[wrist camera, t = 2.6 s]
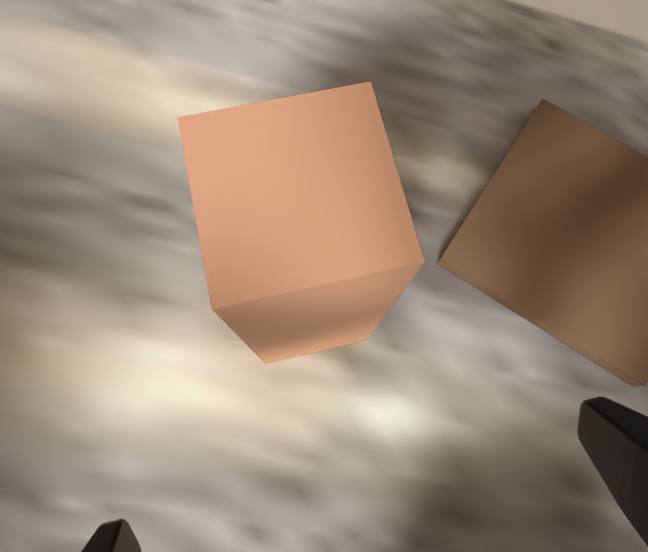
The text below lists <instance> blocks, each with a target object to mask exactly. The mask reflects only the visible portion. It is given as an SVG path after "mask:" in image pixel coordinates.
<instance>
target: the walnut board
mask: <svg viewBox="0 0 648 552" xmlns="http://www.w3.org/2000/svg"><path fill="white" fill-rule="evenodd" d="M437 264H439V265H440V266H442V267H444V268H445V269H447V270H448V271H450V272H452V273H453V274H455V275H456V276H458V277H460V278H461V279H463V280H464V281H466V282H468V283H469V284H471V285H472V286H474V287H476V288H477V289H479V290H480V291H482V292H484V293H485V294H487V295H488V296H490V297H491V298H493V299H495V300H496V301H498V302H499V303H501V304H503V305H504V306H506V307H507V308H509V309H511V310H512V311H514V312H515V313H517V314H519V315H520V316H522V317H523V318H525V319H527V320H528V321H530V322H531V323H533V324H535V325H536V326H538V327H539V328H541V329H543V330H544V331H546V332H547V333H549V334H550V335H552V336H554V337H555V338H557V339H558V340H560V341H562V342H563V343H565V344H566V345H568V346H570V347H571V348H573V349H574V350H576V351H578V352H579V353H581V354H582V355H584V356H586V357H587V358H589V359H590V360H592V361H594V362H595V363H597V364H598V365H600V366H601V367H603V368H605V369H606V370H608V371H609V372H611V373H613V374H614V375H616V376H617V377H619V378H621V379H622V380H624V381H625V382H627V383H629V384H630V385H632V386H645V385H646V383H647V381H648V157H646V156H644V155H642V154H640V153H639V152H637V151H635V150H633V149H631V148H630V147H628V146H626V145H624V144H623V143H621V142H619V141H617V140H615V139H614V138H612V137H610V136H608V135H606V134H605V133H603V132H601V131H599V130H598V129H596V128H594V127H592V126H590V125H589V124H587V123H585V122H583V121H581V120H580V119H578V118H576V117H574V116H573V115H571V114H569V113H567V112H565V111H564V110H562V109H560V108H558V107H556V106H555V105H553V104H551V103H549V102H548V101H546V100H544V99H542V100H541V102H540V103H539V104H538V106H537V107H536V108H535V110H534V112H533V113H532V115H531V116H530V118H529V119H528V121H527V123H526V124H525V126H524V127H523V129H522V130H521V132H520V134H519V135H518V137H517V138H516V140H515V141H514V143H513V145H512V146H511V148H510V149H509V151H508V152H507V154H506V156H505V157H504V159H503V160H502V162H501V163H500V165H499V167H498V168H497V170H496V171H495V173H494V174H493V176H492V178H491V179H490V181H489V182H488V184H487V185H486V187H485V189H484V190H483V192H482V193H481V195H480V196H479V198H478V200H477V201H476V203H475V204H474V206H473V207H472V209H471V211H470V212H469V214H468V215H467V217H466V218H465V220H464V221H463V223H462V225H461V226H460V228H459V229H458V231H457V232H456V234H455V236H454V237H453V239H452V240H451V242H450V243H449V245H448V247H447V248H446V250H445V251H444V253H443V254H442V256H441V258H440V259H439V261H438V262H437Z"/></svg>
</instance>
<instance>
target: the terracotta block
mask: <svg viewBox="0 0 648 552" xmlns="http://www.w3.org/2000/svg"><path fill="white" fill-rule="evenodd" d="M178 122H179V128H180V133H181V139H182V145H183V150H184V156H185V162H186V167H187V173H188V178H189V184H190V190H191V195H192V201H193V207H194V212H195V218H196V223H197V229H198V235H199V240H200V246H201V252H202V257H203V263H204V268H205V274H206V280H207V285H208V291H209V297H210V302H211V308H212V310H213V311H214V312H215V313H216V314H217V315H218V316H219V317H220V318H221V319H222V320H223V321H224V322H225V323H226V324H227V325H228V326H229V327H230V328H231V329H232V330H233V331H234V332H235V333H236V334H237V335H238V336H239V337H240V338H241V339H242V340H243V341H244V342H245V343H246V344H247V346H248V347H249V348H250V349H251V350H252V351H253V352H254V353H255V354H256V355H257V356H258V357H259V358H260V359H261V360H262V361H263V362H264V363H265V364H267V363H271V362H276V361H280V360H284V359H289V358H293V357H297V356H301V355H306V354H310V353H314V352H319V351H323V350H327V349H332V348H336V347H340V346H345V345H349V344H353V343H358V342H362V341H365V340H366V339H367V338H368V336H369V335H370V334H371V332H372V331H373V330H374V329H375V327H376V326H377V325H378V323H379V322H380V321H381V319H382V318H383V317H384V315H385V314H386V313H387V311H388V310H389V309H390V307H391V306H392V305H393V303H394V302H395V301H396V299H397V298H398V297H399V295H400V294H401V293H402V291H403V290H404V289H405V288H406V286H407V285H408V284H409V282H410V281H411V280H412V278H413V277H414V276H415V274H416V273H417V272H418V270H419V269H420V268H421V266H422V265H423V264H424V262H425V261H424V258H423V255H422V251H421V248H420V245H419V241H418V238H417V234H416V231H415V228H414V224H413V221H412V218H411V214H410V211H409V208H408V204H407V201H406V198H405V194H404V191H403V188H402V184H401V181H400V177H399V174H398V171H397V167H396V164H395V161H394V157H393V154H392V151H391V147H390V144H389V141H388V137H387V134H386V130H385V127H384V124H383V120H382V117H381V114H380V110H379V107H378V104H377V100H376V97H375V94H374V90H373V87H372V84H371V81H370V82H364V83H359V84H354V85H348V86H343V87H338V88H332V89H327V90H322V91H316V92H311V93H306V94H300V95H295V96H290V97H284V98H279V99H274V100H268V101H263V102H258V103H252V104H247V105H242V106H236V107H231V108H226V109H220V110H215V111H210V112H204V113H199V114H194V115H188V116H183V117H178Z"/></svg>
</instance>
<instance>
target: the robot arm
mask: <svg viewBox="0 0 648 552" xmlns="http://www.w3.org/2000/svg"><path fill="white" fill-rule="evenodd" d="M578 437H579V440H580V442H581V444H582V446H583V447H584V449H585V451H586V452H587V454H588V455H589V457H590V459H591V460H592V462H593V464H594V465H595V467H596V469H597V470H598V472H599V474H600V475H601V477H602V479H603V480H604V482H605V484H606V485H607V487H608V489H609V490H610V492H611V494H612V495H613V497H614V499H615V500H616V502H617V503H618V505H619V507H620V508H621V510H622V511H623V513H624V514H625V516H626V517H627V519H628V520H629V521H630V523H631V524H632V526H633V527H634V528H635V530H636V531H637V532H638V534H639V535H640V536H641V538H642V539H643V540H644V542H645V543H646V544H647V546H648V417H647V416H645V415H643V414H640V413H638V412H636V411H634V410H632V409H630V408H627V407H625V406H623V405H621V404H619V403H616V402H614V401H612V400H610V399H608V398H605V397H596V398H593V399H589V400H585V401H583V402H582V403H581V405H580V412H579V421H578ZM81 552H141V548H140V545H139V543H138V541H137V539H136V537H135V535H134V533H133V531H132V529H131V527H130V525H129V523H128V522H127V520H125V519H117V520H113V521H109V522H105V523H103V524H101V525H100V526H99V527H98V529H97V530H96V531H95V533H94V534H93V536H92V537H91V538H90V540H89V541H88V543H87V544H86V546H85V547H84V548H83V550H82V551H81Z"/></svg>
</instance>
